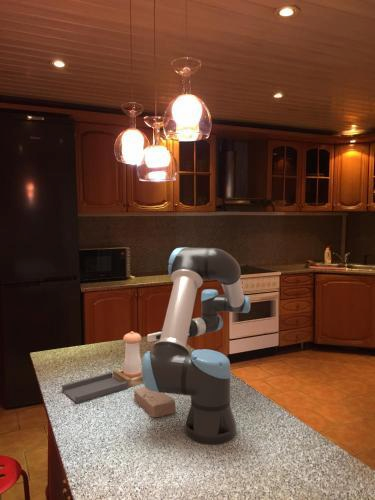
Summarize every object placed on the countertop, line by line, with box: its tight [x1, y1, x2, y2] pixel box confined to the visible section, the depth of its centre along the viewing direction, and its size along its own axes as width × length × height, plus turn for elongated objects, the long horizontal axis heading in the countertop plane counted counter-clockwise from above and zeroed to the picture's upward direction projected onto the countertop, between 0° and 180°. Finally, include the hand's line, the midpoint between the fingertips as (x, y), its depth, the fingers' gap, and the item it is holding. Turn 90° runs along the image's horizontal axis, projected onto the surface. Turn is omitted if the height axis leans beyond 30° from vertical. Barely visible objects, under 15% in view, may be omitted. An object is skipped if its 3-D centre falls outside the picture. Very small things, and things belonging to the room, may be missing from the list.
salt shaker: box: [122, 331, 142, 379], centre depth 156 cm, size 7×7×19 cm
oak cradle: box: [112, 369, 144, 388], centre depth 157 cm, size 12×11×3 cm
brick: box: [133, 385, 176, 418], centre depth 135 cm, size 17×8×5 cm, turn 30°
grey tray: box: [61, 371, 129, 405], centre depth 147 cm, size 20×13×2 cm, turn 129°
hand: (148, 338), depth 161 cm, fingers closed
